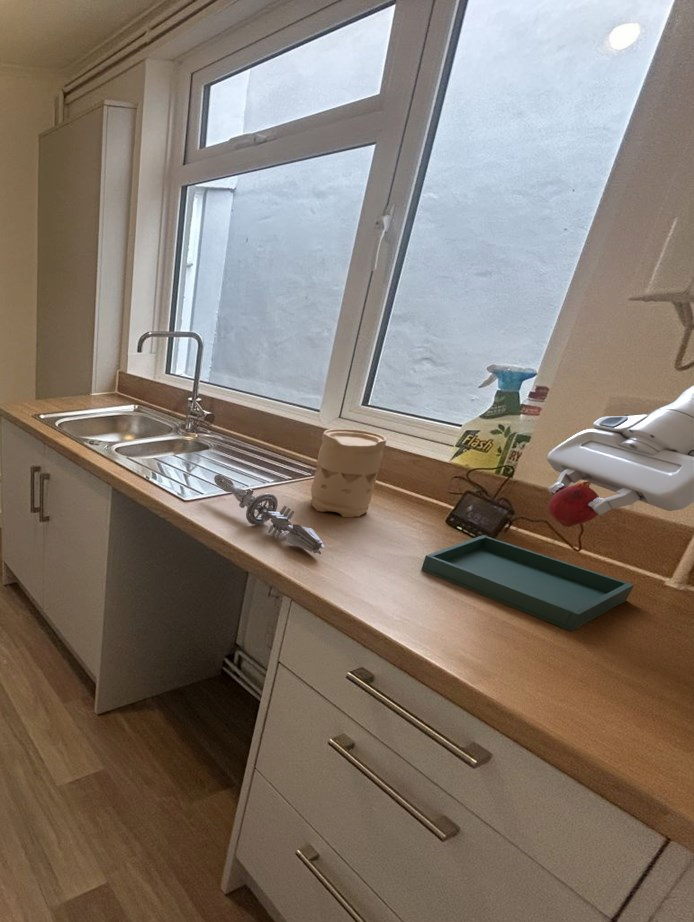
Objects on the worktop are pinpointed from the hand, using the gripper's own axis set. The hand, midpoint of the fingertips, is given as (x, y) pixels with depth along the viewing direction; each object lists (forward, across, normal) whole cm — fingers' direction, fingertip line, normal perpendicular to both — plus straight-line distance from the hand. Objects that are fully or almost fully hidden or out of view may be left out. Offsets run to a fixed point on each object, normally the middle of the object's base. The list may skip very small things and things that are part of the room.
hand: (571, 501), depth 85 cm
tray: (+12, +2, -12) cm, 17 cm away
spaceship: (+39, +27, +14) cm, 49 cm away
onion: (+3, 0, -4) cm, 5 cm away
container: (+22, +38, -2) cm, 44 cm away
